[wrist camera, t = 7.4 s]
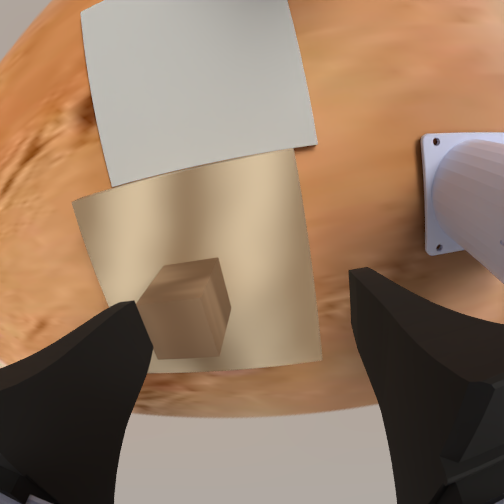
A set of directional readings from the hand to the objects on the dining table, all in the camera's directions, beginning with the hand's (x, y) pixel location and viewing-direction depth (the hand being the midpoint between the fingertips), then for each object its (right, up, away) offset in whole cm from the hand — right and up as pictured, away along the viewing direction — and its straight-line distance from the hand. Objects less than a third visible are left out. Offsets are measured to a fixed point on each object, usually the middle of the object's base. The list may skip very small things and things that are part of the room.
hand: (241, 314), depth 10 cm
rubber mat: (-3, +13, +6) cm, 15 cm away
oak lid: (-2, 0, +8) cm, 8 cm away
